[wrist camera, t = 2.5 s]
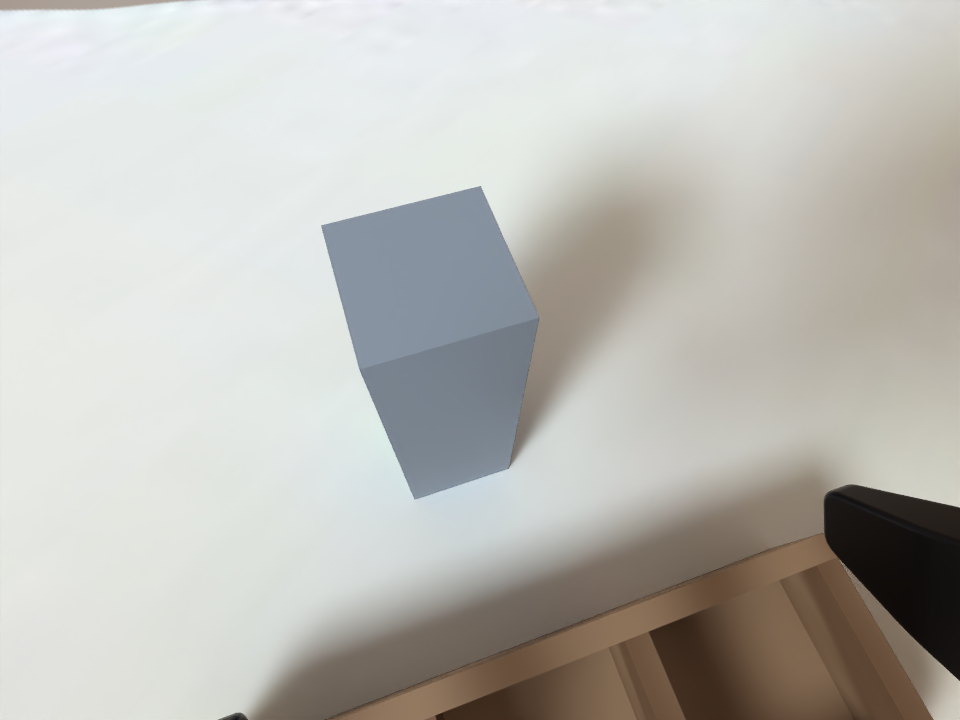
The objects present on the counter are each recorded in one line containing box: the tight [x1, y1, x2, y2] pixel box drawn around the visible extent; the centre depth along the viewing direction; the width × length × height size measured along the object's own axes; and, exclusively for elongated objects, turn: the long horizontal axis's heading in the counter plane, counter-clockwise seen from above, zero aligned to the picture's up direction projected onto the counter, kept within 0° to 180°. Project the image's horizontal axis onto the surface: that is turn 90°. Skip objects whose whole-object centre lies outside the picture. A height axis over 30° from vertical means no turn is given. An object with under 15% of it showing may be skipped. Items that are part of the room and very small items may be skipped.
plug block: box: [321, 186, 539, 499], centre depth 18 cm, size 4×4×12 cm
